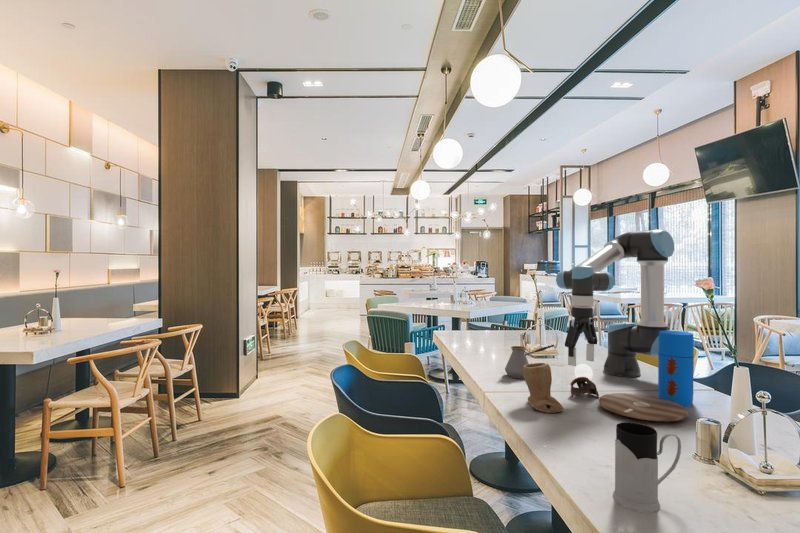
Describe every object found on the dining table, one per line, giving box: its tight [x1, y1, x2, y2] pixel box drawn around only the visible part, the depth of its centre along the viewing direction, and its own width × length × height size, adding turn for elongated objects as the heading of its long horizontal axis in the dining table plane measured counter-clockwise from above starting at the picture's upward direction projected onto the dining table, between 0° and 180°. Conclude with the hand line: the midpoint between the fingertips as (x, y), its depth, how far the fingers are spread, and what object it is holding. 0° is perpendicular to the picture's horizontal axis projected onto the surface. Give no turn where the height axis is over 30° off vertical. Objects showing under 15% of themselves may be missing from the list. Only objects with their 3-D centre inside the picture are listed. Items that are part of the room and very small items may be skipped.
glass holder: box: [612, 421, 682, 513], centre depth 90 cm, size 9×14×15 cm, turn 95°
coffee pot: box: [504, 344, 556, 379], centre depth 190 cm, size 21×12×15 cm, turn 71°
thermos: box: [657, 330, 695, 407], centre depth 157 cm, size 11×11×25 cm
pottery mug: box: [569, 376, 600, 399], centre depth 164 cm, size 12×10×8 cm
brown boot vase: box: [523, 362, 565, 414], centre depth 150 cm, size 15×12×15 cm
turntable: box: [598, 392, 689, 422], centre depth 145 cm, size 26×26×1 cm
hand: (581, 363), depth 164 cm, fingers open, 13 cm apart
